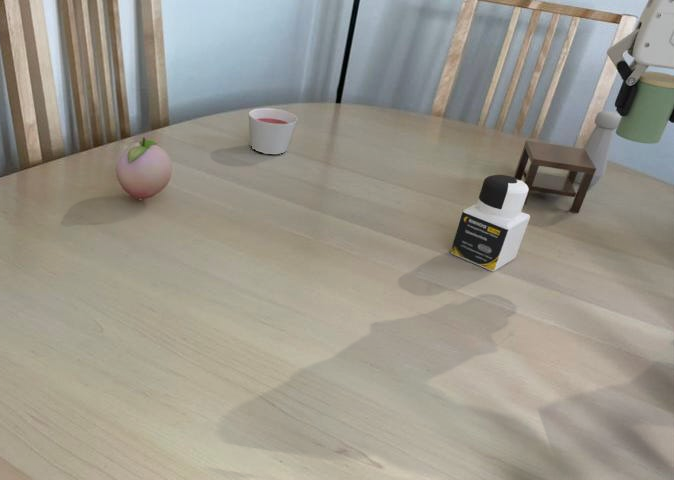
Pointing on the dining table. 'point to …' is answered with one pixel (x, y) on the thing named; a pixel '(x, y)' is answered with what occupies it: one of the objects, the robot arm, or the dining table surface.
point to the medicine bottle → (493, 224)
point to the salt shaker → (600, 143)
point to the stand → (558, 159)
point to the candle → (271, 129)
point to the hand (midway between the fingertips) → (645, 115)
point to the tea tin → (649, 109)
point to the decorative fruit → (143, 169)
